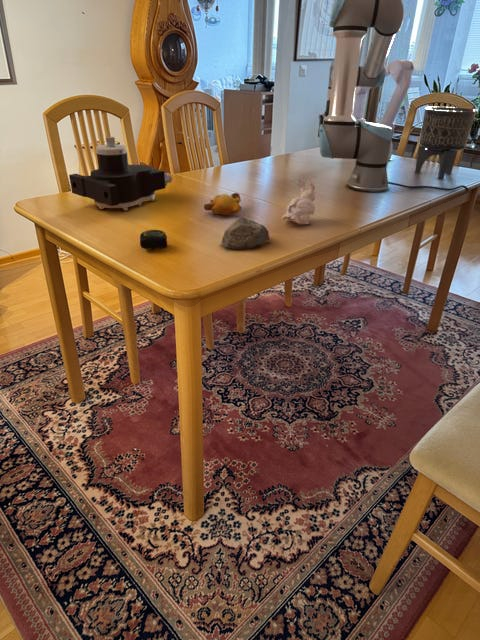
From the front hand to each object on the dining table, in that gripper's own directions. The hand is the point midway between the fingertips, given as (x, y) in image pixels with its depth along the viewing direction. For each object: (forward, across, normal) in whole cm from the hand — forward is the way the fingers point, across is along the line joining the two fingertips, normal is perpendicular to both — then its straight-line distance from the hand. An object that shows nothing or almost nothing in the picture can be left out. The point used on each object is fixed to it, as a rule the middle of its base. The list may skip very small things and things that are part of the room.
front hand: (329, 153), depth 216 cm
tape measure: (+5, +82, +104) cm, 132 cm away
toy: (+5, +60, +74) cm, 95 cm away
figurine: (+5, +39, +87) cm, 95 cm away
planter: (+4, -39, +29) cm, 49 cm away
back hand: (-4, -20, -24) cm, 32 cm away
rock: (+5, +58, +104) cm, 119 cm away
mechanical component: (+5, +90, +60) cm, 108 cm away
